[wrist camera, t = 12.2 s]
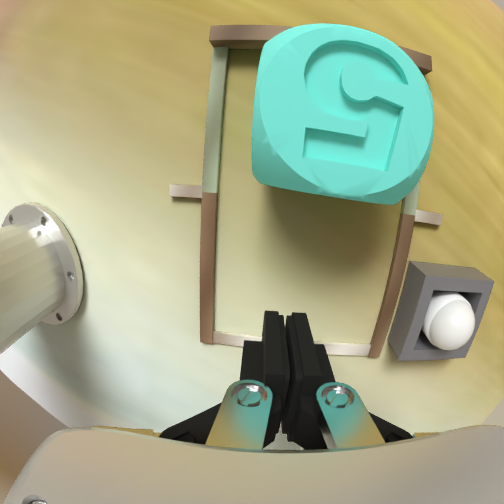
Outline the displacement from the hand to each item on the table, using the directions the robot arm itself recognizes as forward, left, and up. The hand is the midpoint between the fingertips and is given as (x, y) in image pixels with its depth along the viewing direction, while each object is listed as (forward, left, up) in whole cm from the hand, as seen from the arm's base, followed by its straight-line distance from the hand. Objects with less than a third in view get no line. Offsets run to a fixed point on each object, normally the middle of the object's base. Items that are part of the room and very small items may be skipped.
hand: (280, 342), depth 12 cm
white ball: (+13, -2, -9) cm, 16 cm away
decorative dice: (+2, +10, -10) cm, 14 cm away
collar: (+13, -2, -10) cm, 17 cm away
